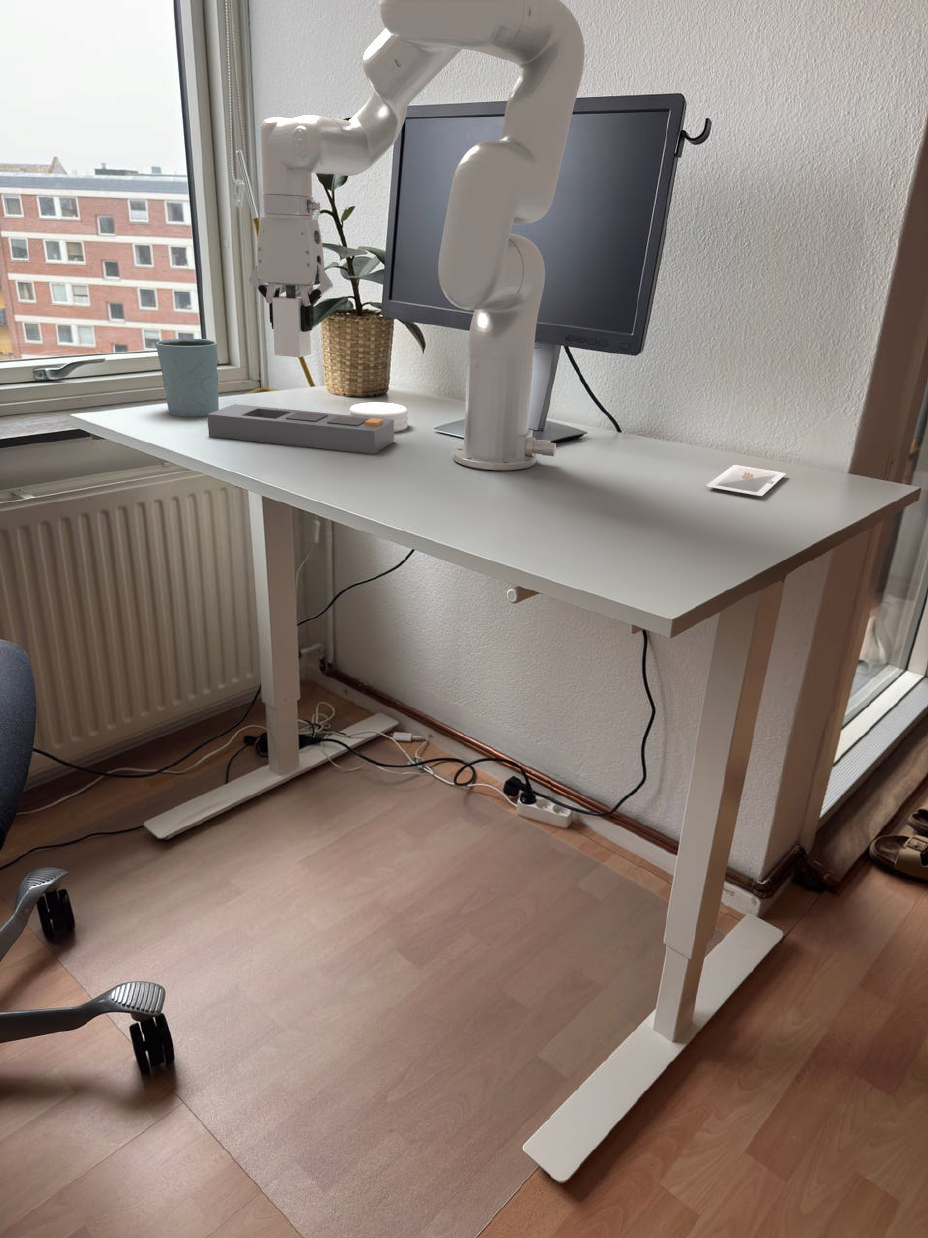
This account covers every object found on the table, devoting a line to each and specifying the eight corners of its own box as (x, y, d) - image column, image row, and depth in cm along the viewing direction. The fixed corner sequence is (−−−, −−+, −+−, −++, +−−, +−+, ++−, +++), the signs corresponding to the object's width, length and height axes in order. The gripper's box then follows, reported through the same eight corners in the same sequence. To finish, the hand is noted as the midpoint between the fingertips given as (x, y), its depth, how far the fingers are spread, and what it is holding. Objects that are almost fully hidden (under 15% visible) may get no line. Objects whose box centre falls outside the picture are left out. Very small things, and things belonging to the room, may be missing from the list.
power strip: (393, 441, 143) (393, 415, 141) (374, 453, 135) (374, 427, 133) (236, 425, 149) (234, 400, 147) (208, 436, 141) (206, 410, 139)
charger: (310, 353, 150) (309, 284, 145) (299, 357, 146) (297, 286, 141) (286, 351, 151) (283, 282, 146) (274, 354, 147) (271, 284, 142)
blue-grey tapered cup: (221, 417, 154) (216, 346, 149) (160, 417, 151) (153, 345, 147) (222, 405, 163) (217, 338, 158) (164, 406, 160) (157, 337, 155)
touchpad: (704, 493, 124) (706, 478, 123) (732, 471, 136) (735, 457, 135) (760, 503, 120) (763, 488, 120) (784, 480, 132) (787, 466, 131)
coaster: (349, 433, 147) (349, 412, 146) (349, 421, 156) (348, 401, 155) (409, 434, 149) (410, 413, 147) (405, 421, 158) (405, 401, 156)
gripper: (347, 211, 140) (348, 331, 148) (250, 206, 144) (256, 323, 152) (328, 210, 134) (330, 336, 141) (227, 205, 137) (234, 327, 145)
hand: (292, 328), depth 146 cm, fingers closed on charger, 4 cm apart
